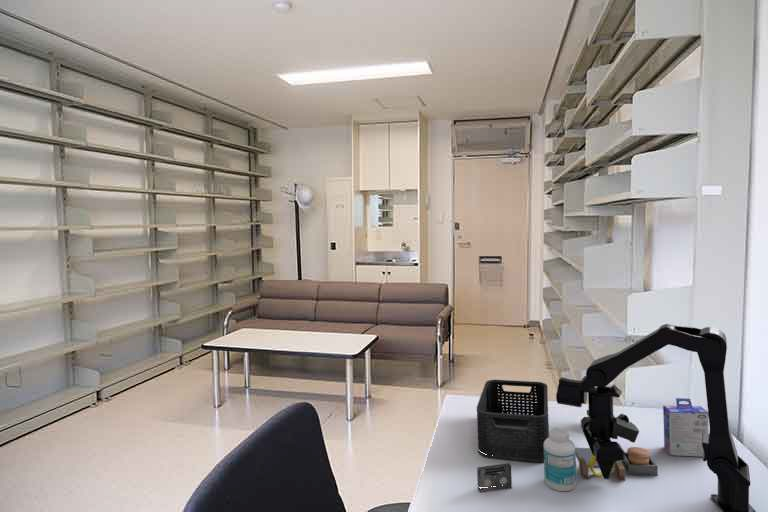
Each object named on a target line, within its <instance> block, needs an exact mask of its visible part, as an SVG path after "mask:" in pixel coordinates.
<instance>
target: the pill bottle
mask: <svg viewBox="0 0 768 512" xmlns="http://www.w3.org/2000/svg"><path fill="white" fill-rule="evenodd" d="M575 448H576V445H575V443H574V442H573V441H572V440H571V439H570V432H569V431H568V430H566V429H563V428H561V427H556V428H555V427H554V428H551V429H549V438H547V439H546V440H545V441H544V461H543V467H544V482H545V484H546V486H547V487H549V488H550V489H552V490H554V491H558V492H569V491H572V490H574V489H575V488H576V486H577V466H576V465H577V464H576V463H577V461H576V458H577V454H576V451H575Z"/></svg>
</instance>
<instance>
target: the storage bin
mask: <svg viewBox="0 0 768 512" xmlns="http://www.w3.org/2000/svg"><path fill="white" fill-rule="evenodd" d="M503 386H507V387H508V386H509V387H510V386H511V387H512V386H513V387H527V388H529V387H530V388H531V389H530V391H529V392H526V391H512V390H510V391H509V390H504V387H503ZM548 387H549V386H548V385H547V383H545V382H542V381H530V380H528V381H526V380H509V379H508V380H507V379H504V380H503V379H490V380H486V381H485V383H484V386H483V388H482V392H481V394H480V397H479V400H478V403H477V406H476V420H477V421H476V424H477V425H476V426H477V452H478V454H479V455H481V456H483V457H486V458H490V459H491V458H492V459H499V460H500V459H501V460H511V461H512V460H513V461H520V462H531V463H542V462H543V463H544V441H545V440H546V439H547V438H549V430H550V428H549V427H550V426H549V424H550V423H549V400H548V399H549V397H548V393H549V392H548V390H549V389H548ZM478 449H479V450H480V451H481V452H483V453H485V454H487V455H485V454H483V453H481V452H480V451H479V450H478ZM492 455H493V456H492Z"/></svg>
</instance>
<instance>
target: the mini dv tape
mask: <svg viewBox="0 0 768 512" xmlns="http://www.w3.org/2000/svg"><path fill="white" fill-rule="evenodd" d="M476 473H477V474H476V475H477V477H476V478H477V480H476V481H477V490H478V492H479V494H480V493H487V492H495V491H503V490H504V491H505V490H509V489H510V490H511V489H512V488H513V483H512V464H510V462H508V463H500V464H492V465H484V466H477V468H476ZM502 485H503V486H502ZM478 486H479V487H488V488H481V489H480V488H479V487H478ZM491 486H492V487H491ZM493 486H496V487H493Z"/></svg>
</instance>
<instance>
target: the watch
mask: <svg viewBox="0 0 768 512" xmlns="http://www.w3.org/2000/svg"><path fill="white" fill-rule="evenodd" d="M595 460H596V458H595V456H594V455H593V456H592V458H591V459H590V462H589V467H588V469H589V470H590V472H591V473H592V474H593V475H595V476H596V477H598V478H599V477H603V475H602V473H601V471H600V472H595V469H594V467H593V464H594V462H595ZM613 467H614V465H613ZM613 467H612V470H611V473H612V472H613V471H614V468H613Z"/></svg>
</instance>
